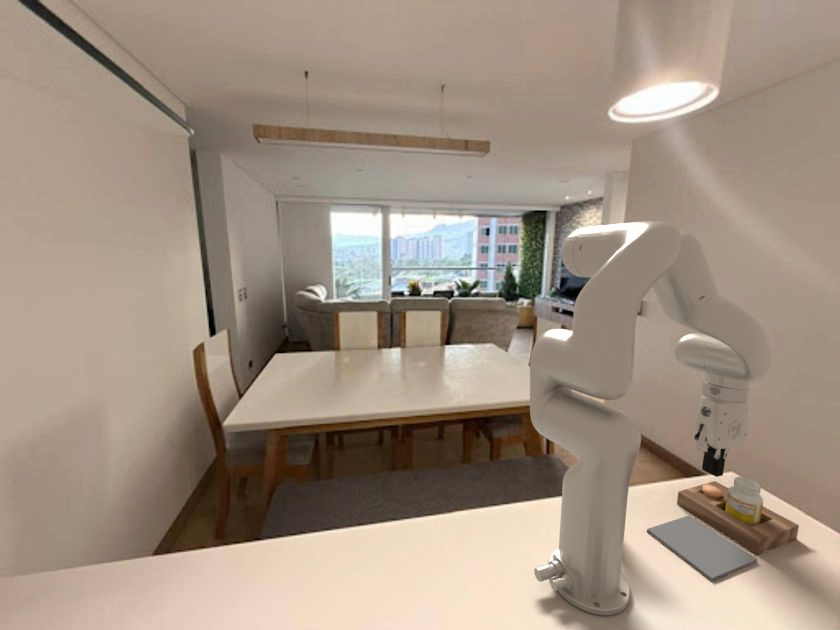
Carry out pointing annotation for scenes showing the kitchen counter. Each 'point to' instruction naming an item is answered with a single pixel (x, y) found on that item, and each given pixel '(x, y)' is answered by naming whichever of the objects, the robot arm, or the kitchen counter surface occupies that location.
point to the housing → (754, 538)
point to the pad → (701, 547)
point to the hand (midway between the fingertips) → (712, 472)
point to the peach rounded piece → (711, 492)
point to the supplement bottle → (745, 501)
